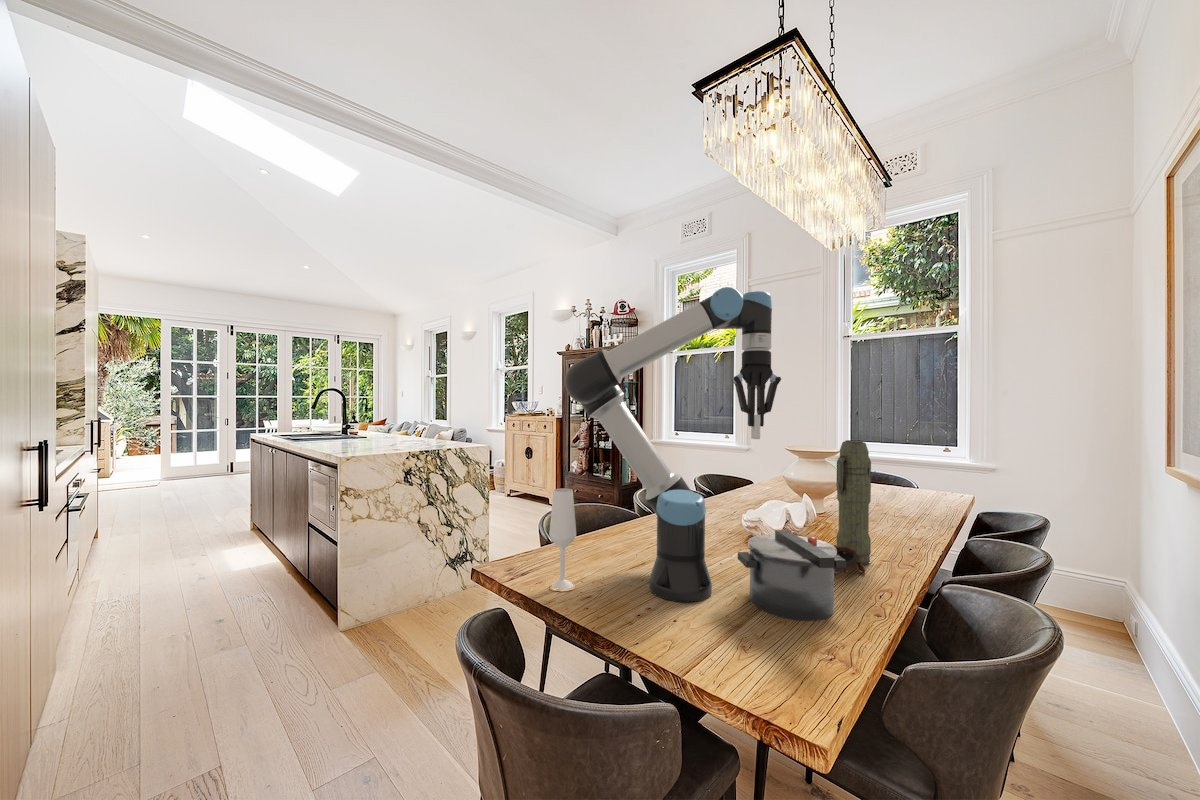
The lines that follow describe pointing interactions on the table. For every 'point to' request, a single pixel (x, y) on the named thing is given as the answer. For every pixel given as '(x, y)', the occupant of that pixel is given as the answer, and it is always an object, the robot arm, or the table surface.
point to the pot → (791, 587)
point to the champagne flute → (562, 529)
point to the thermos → (854, 497)
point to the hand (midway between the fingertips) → (755, 438)
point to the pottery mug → (849, 559)
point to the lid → (794, 548)
